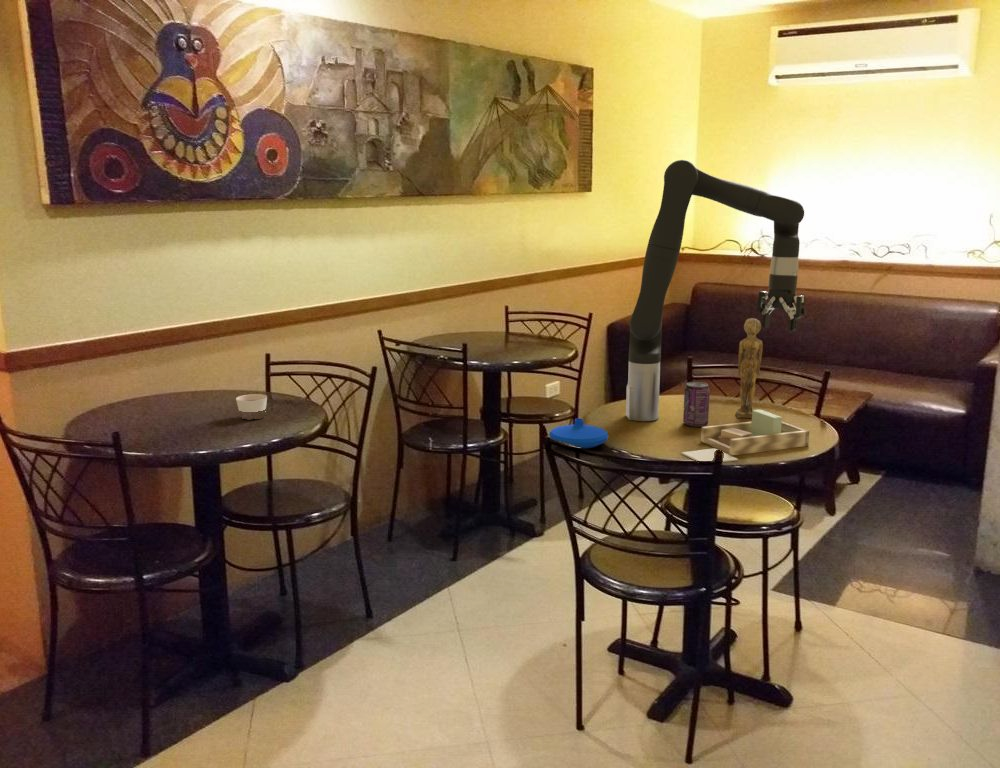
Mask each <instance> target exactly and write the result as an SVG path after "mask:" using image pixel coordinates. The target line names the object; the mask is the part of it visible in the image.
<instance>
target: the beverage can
mask: <svg viewBox="0 0 1000 768" xmlns="http://www.w3.org/2000/svg"><path fill="white" fill-rule="evenodd" d="M683 392H684V393H683V394H684V396H683V416H682V417H683V421H682V422H683V424H685V425H687V426H690V427H695V428H698V427H699V428H700V427H701V428H702V427H705V426H707V425H708V424H709V417H710V416H709V414H710V398H711V397H710V395H711V394H710V393H711V392H710V388H709V384H708V383H706V382H701V381H689V382H687V383H686V387H685V389H684V391H683Z"/></svg>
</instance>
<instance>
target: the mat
mask: <svg viewBox="0 0 1000 768" xmlns="http://www.w3.org/2000/svg"><path fill="white" fill-rule="evenodd" d="M716 450H718V449H717V448H715V447H713V448H707V449H706V448H705V449H698V450H690V451H682V452H681V455H683V456H685V457H687V458H689V459H692V460H693V461H695V460H696V461H695V462H697V461H712V460H713V458H714V452H715V451H716ZM722 452H723V451H722ZM723 453H724V458H723V462H722V463H729V462H735V461H739V458H738V457H734V455H730V454H728V453H726V452H723Z"/></svg>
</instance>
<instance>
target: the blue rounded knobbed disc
mask: <svg viewBox="0 0 1000 768" xmlns="http://www.w3.org/2000/svg"><path fill="white" fill-rule="evenodd" d="M548 435H549V438H551V439H553V440H556V441H561V442H565V443H570V444H573V445H575V446H579V447H582V448H583V449H591V448H596V447H598V446H600V445H602V444H604V443H606V442H607V441H608V438H609V433H608V432H607V431H606V430H605V429H604V428H602V427H599V426H596V425H590V424H584V419H583V418H575V419H574V424H566V425H560V426H556V427H554V428H552V429H551V430H550V432H549V434H548ZM551 439H550V440H551Z"/></svg>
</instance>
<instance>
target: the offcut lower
mask: <svg viewBox="0 0 1000 768" xmlns="http://www.w3.org/2000/svg"><path fill="white" fill-rule="evenodd" d="M718 441H719V442H721V443H723V444H725V445H728V446H730V441H729V440H725V439H722V438H721V437H719V438H718Z"/></svg>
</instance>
